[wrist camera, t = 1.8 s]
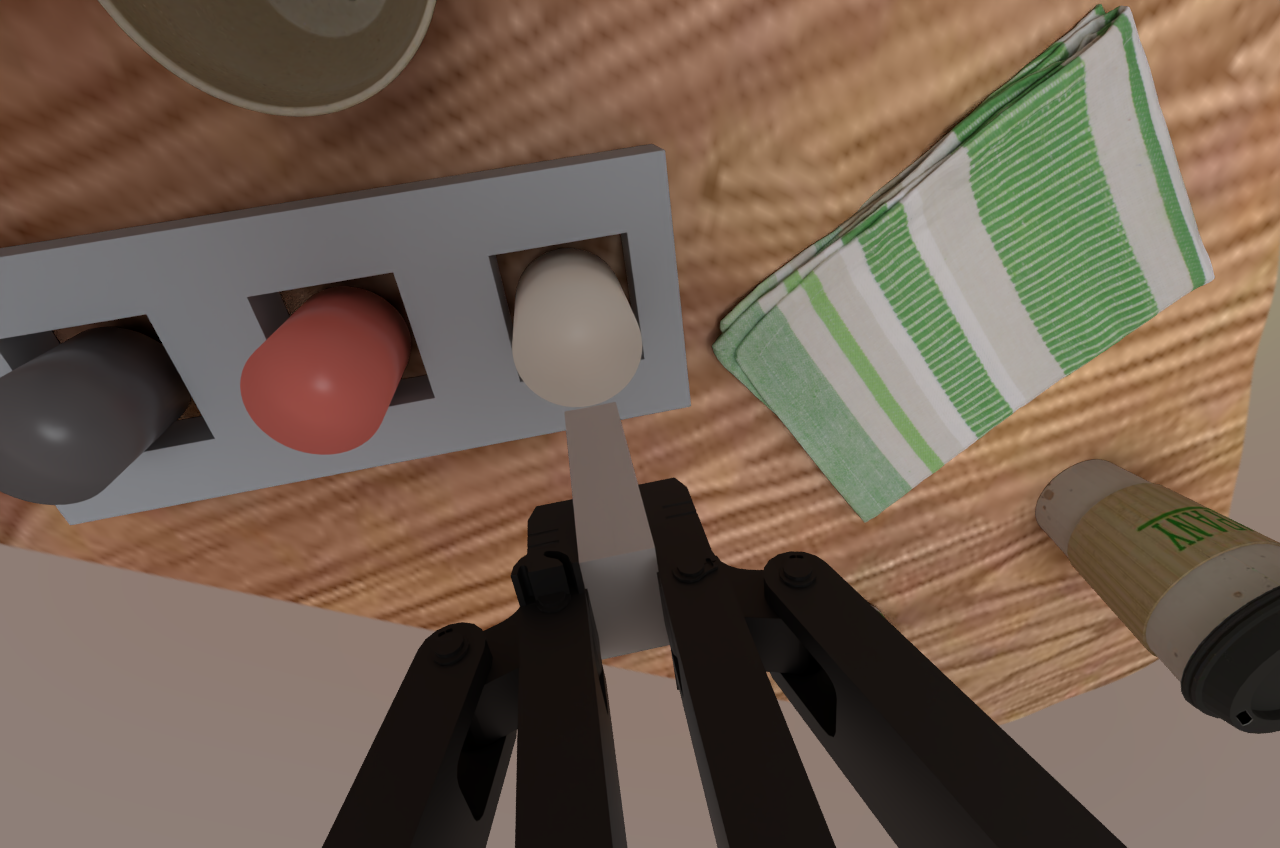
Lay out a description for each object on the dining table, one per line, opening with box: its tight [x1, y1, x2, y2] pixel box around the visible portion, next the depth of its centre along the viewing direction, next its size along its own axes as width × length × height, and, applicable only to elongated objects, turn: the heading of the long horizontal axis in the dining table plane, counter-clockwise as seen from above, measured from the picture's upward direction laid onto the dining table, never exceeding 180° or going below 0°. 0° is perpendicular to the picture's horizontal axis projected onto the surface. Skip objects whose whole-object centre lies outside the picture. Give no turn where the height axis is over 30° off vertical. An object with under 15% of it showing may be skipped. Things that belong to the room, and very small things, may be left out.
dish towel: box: [712, 4, 1215, 522], centre depth 34 cm, size 18×23×3 cm
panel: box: [0, 144, 691, 525], centre depth 29 cm, size 12×30×3 cm, turn 98°
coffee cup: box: [1035, 460, 1280, 734], centre depth 37 cm, size 10×10×15 cm
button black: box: [0, 327, 191, 505], centre depth 25 cm, size 5×5×6 cm
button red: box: [240, 286, 411, 455], centre depth 26 cm, size 5×5×6 cm
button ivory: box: [512, 248, 642, 407], centre depth 27 cm, size 5×5×6 cm
